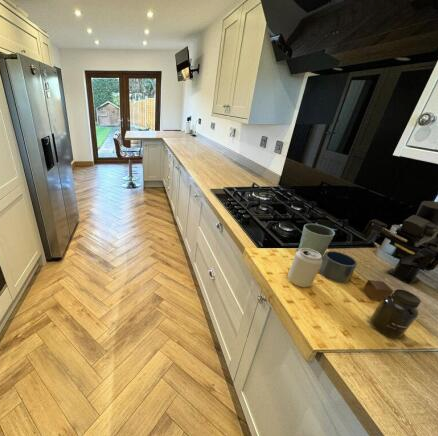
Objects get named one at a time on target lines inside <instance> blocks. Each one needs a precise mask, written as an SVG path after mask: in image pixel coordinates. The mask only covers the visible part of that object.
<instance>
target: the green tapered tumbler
mask: <svg viewBox="0 0 438 436" xmlns="http://www.w3.org/2000/svg"><path fill="white" fill-rule="evenodd" d="M301 233H302V234H301V237H300V241H299V242H300V243H299V244H298V245H299V246H298V249H297V251H300V249H301V248H309V249H313V250H315V251H317V252H319V253H320V254H321V255H322V258H321V259H323V257H324V254H325V253H326V252H327V250H328V248H329V245H330V244H331V242H332V240H333V239H334V237H335V235H336V232H335V231H334V230H333V229H332V228H330V227H328V226H325V225H322V224H318V223H306V224H304V225H303V228H302V232H301Z"/></svg>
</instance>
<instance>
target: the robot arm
mask: <svg viewBox="0 0 438 436" xmlns="http://www.w3.org/2000/svg"><path fill="white" fill-rule="evenodd" d="M387 227H388V224H387V223H384V222H382V221H381V220H378V219H376V218H374V219H371V220H369V221H368V222H367V223H366V225H365V227H364V229H363V231H362V232H361V233H362V235H363V236H364V237H365V238H366V240H365V241H364V244H365V245H367V244H371V243H374V242H375V241H376V240H379V238H381V237H383V238H385V239H387V240H389V241H390V242H389V243H388V245H391V246H393V247H394V248H395V251H394V254H393V256H392V257H393V258H395V259H397V260H398V261H397V263H396V265H395V267H394V268H392V269H389V270H387V271H386V272H387V274H389V275H391V276H392V277H395V278H397V279H399V280H401V281H403V282H405V283H407V284H411V283H415V282H417V281H419V280H420V278H419V277H417V276H418V274H419V273H420V271H423V272H424V271H426V272H427V271H428V272H431V271H434V270H435V269H437V268H438V201H433V200H423V201H421V203H420V205H419V207H418V209H417V211H416V213H415V214H413V215H412V214H411V216H409V217H407V218H406V219H404V220H403V222H402V224H401V226H399V227H398V228H396V229H395V232H393V231H391V230H389V229H387Z"/></svg>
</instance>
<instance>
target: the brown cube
mask: <svg viewBox="0 0 438 436" xmlns="http://www.w3.org/2000/svg"><path fill="white" fill-rule="evenodd" d="M362 291H363V292H364V293H365V294H366V296H368V297H369V298H370V300H372V301H373V300H374V301H379V302H381V301H382V300H383V298H384V297H386V296H391V295H392V294H393V293H394V290H393V289H392V288H391V287H390V286H389V285H388V284H387V283H386V282H384V281H381V280H373V279H368V280H367V281H366V283H365V285H364V287H363V289H362Z"/></svg>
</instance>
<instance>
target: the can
mask: <svg viewBox="0 0 438 436" xmlns="http://www.w3.org/2000/svg"><path fill="white" fill-rule="evenodd" d="M321 258H322V259H323V257H322V255H321V254H320V253H319V252H317V251H315V250H313V249H309V248H301V249H300V251H298V250H297V251H296V252H295V255H294V257H293V260H292V262H291V265H290V268H289V270H288V273H287V278H288V280H289V281H290V282H291V283H292V284H293V285H295V286H298V287H300V288H309V287H311V286H313V284H314V282H315V279H316V278H317V275H318V272H319V268H320V266H321V264H322V259H321Z"/></svg>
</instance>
